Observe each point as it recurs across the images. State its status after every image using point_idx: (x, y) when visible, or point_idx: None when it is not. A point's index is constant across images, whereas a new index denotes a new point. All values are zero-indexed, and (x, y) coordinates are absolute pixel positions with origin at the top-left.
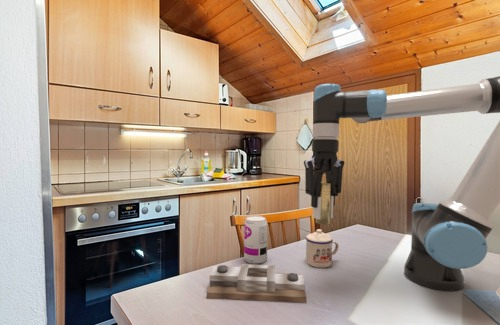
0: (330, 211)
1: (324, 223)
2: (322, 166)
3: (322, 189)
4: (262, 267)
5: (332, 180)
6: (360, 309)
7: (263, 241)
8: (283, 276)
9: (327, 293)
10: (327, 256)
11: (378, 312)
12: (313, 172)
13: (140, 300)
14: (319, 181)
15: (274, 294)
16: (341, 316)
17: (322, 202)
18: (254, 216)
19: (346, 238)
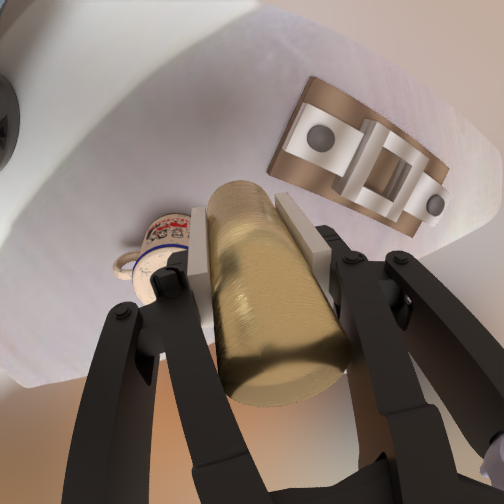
0: (206, 225)
1: (249, 183)
2: (455, 478)
3: (321, 292)
4: (369, 194)
5: (207, 385)
6: (211, 21)
7: (329, 297)
8: (332, 156)
9: (242, 93)
10: (165, 226)
11: (181, 5)
12: (495, 378)
13: (490, 192)
14: (386, 338)
15: (368, 112)
16: (267, 15)
17: (287, 235)
18: (344, 372)
19: (59, 346)
